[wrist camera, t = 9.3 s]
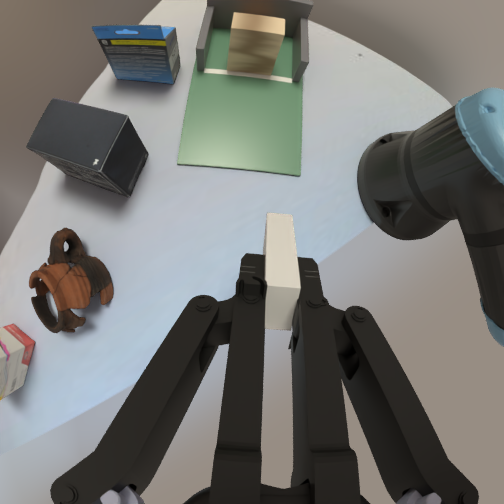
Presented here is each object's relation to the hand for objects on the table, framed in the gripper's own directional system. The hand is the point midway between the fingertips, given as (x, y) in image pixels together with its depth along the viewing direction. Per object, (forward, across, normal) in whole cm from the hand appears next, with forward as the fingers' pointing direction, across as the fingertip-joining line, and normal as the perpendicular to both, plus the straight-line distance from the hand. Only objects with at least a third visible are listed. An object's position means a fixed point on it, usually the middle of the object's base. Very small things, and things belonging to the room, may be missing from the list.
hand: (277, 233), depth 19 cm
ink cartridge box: (0, -33, -23) cm, 40 cm away
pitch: (+26, -4, +7) cm, 27 cm away
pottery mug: (+8, -22, -14) cm, 28 cm away
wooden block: (+28, -4, +10) cm, 30 cm away
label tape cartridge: (+26, -18, +9) cm, 33 cm away
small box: (+17, -21, -2) cm, 27 cm away
